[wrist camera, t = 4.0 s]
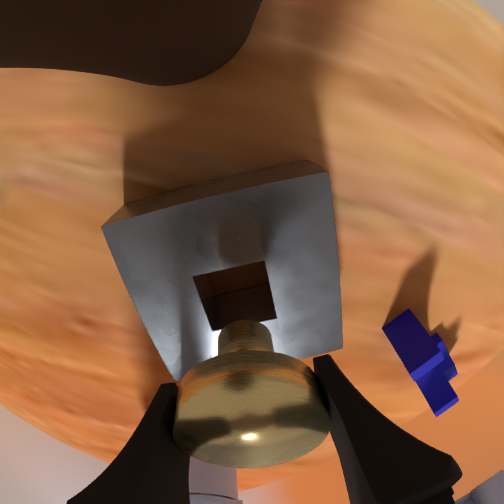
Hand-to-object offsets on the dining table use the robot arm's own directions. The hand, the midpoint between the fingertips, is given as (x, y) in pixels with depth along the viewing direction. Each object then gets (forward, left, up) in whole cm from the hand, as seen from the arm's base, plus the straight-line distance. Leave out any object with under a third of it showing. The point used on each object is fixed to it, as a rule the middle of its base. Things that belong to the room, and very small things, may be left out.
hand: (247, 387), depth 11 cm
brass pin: (0, 0, -3) cm, 3 cm away
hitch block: (0, 0, -10) cm, 10 cm away
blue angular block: (+15, -13, -11) cm, 23 cm away
